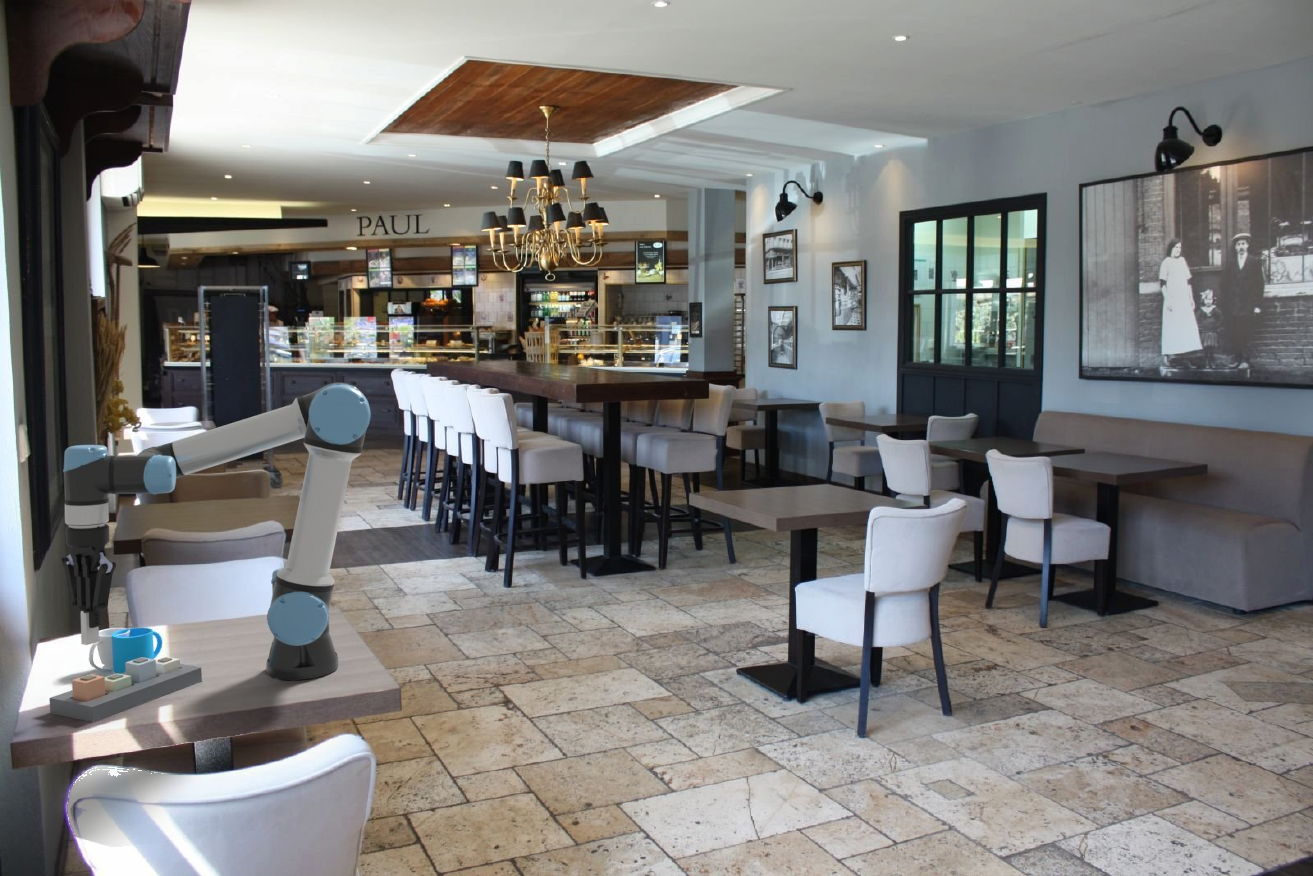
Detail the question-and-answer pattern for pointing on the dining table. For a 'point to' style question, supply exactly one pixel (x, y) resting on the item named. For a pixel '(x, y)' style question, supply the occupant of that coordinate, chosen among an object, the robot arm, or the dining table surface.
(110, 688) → the pale green square block
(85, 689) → the orange hollow cube
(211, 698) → the dining table surface
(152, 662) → the key blue
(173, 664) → the key ivory
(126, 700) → the grey board
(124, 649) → the mug
